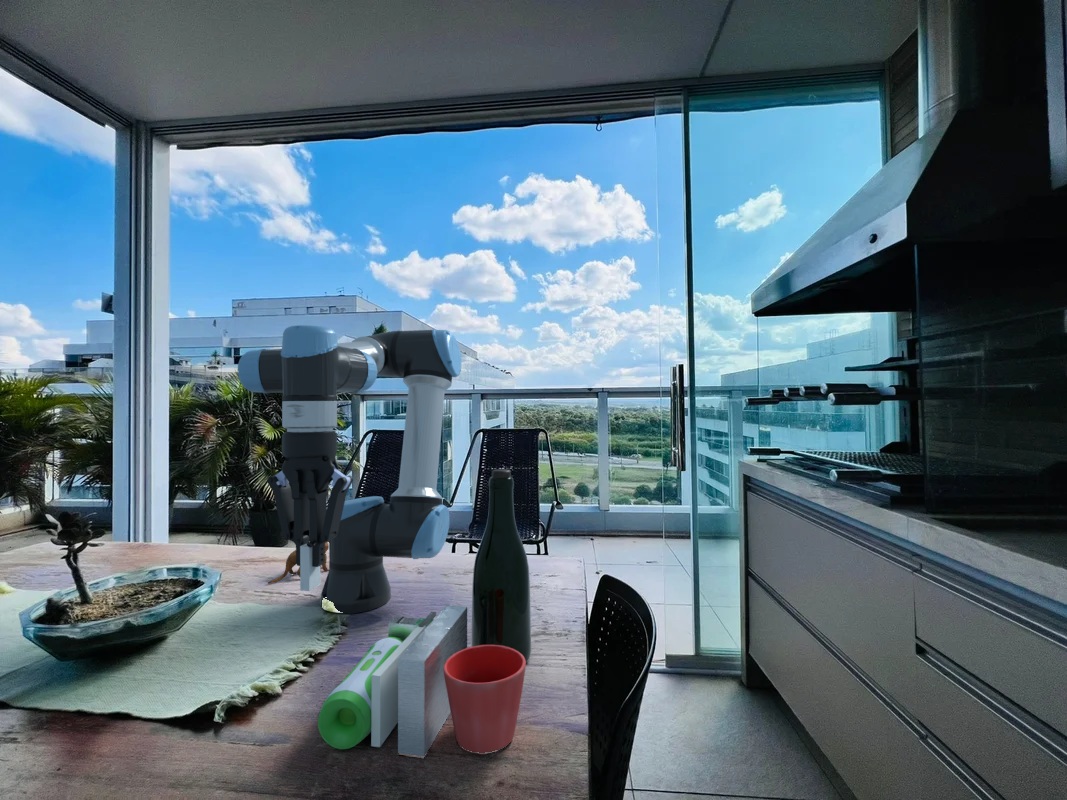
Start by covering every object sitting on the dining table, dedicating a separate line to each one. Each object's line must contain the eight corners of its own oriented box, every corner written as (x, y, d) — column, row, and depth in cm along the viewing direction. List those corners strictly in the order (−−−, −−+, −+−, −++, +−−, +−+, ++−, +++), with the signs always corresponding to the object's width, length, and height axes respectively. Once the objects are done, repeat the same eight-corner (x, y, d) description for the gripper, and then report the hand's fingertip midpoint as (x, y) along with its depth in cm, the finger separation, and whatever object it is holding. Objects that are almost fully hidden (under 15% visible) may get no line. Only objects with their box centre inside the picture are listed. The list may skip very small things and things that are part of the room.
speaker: (371, 678, 80) (371, 631, 81) (414, 680, 80) (414, 633, 80) (313, 752, 63) (314, 693, 63) (368, 756, 62) (368, 696, 62)
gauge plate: (371, 746, 63) (371, 673, 63) (430, 666, 83) (430, 611, 83) (380, 747, 63) (380, 674, 63) (437, 667, 83) (437, 611, 83)
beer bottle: (525, 642, 93) (525, 465, 93) (536, 670, 82) (535, 472, 83) (469, 646, 91) (470, 467, 92) (472, 676, 80) (473, 473, 81)
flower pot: (447, 713, 71) (447, 645, 71) (523, 709, 72) (523, 641, 72) (439, 766, 60) (439, 685, 60) (528, 760, 61) (528, 681, 61)
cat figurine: (273, 591, 122) (272, 535, 121) (261, 585, 125) (259, 531, 125) (340, 569, 136) (339, 519, 136) (327, 564, 140) (326, 516, 140)
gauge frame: (325, 746, 64) (326, 652, 64) (395, 667, 83) (395, 595, 84) (424, 758, 61) (424, 661, 62) (471, 674, 81) (471, 601, 81)
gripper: (253, 431, 71) (253, 594, 71) (335, 431, 69) (336, 600, 69) (287, 428, 79) (288, 576, 79) (363, 428, 77) (363, 580, 76)
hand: (310, 587), depth 74 cm, fingers closed
